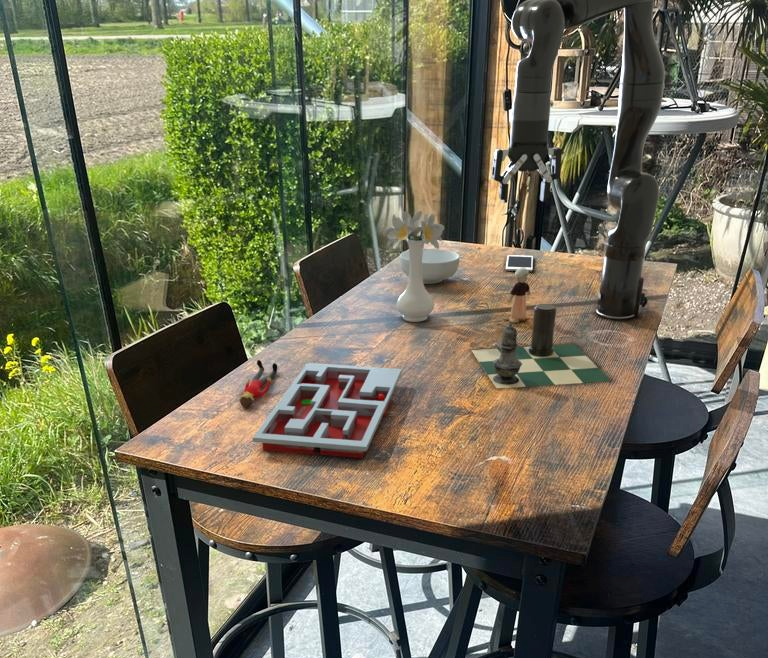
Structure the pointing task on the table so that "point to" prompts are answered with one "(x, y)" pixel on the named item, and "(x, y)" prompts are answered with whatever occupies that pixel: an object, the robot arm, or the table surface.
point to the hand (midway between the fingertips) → (523, 201)
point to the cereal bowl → (433, 264)
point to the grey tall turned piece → (507, 358)
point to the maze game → (330, 410)
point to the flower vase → (415, 261)
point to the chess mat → (545, 367)
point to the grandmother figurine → (519, 296)
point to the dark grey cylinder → (543, 330)
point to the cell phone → (519, 262)
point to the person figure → (256, 386)
